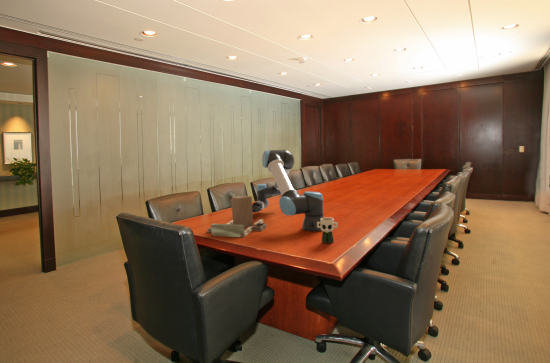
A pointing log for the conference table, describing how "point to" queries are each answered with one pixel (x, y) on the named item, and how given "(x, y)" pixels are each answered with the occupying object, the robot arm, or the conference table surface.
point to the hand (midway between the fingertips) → (245, 213)
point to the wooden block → (242, 210)
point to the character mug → (327, 229)
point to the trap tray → (235, 229)
